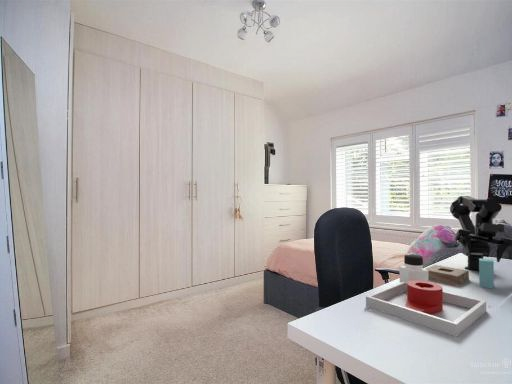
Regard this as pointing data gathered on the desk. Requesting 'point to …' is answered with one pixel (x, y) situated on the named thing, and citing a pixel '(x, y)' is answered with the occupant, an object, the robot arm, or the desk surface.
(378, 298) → the tray
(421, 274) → the medicine bottle
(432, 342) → the desk surface
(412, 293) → the red oval ring
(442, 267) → the brown flat block
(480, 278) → the plug
